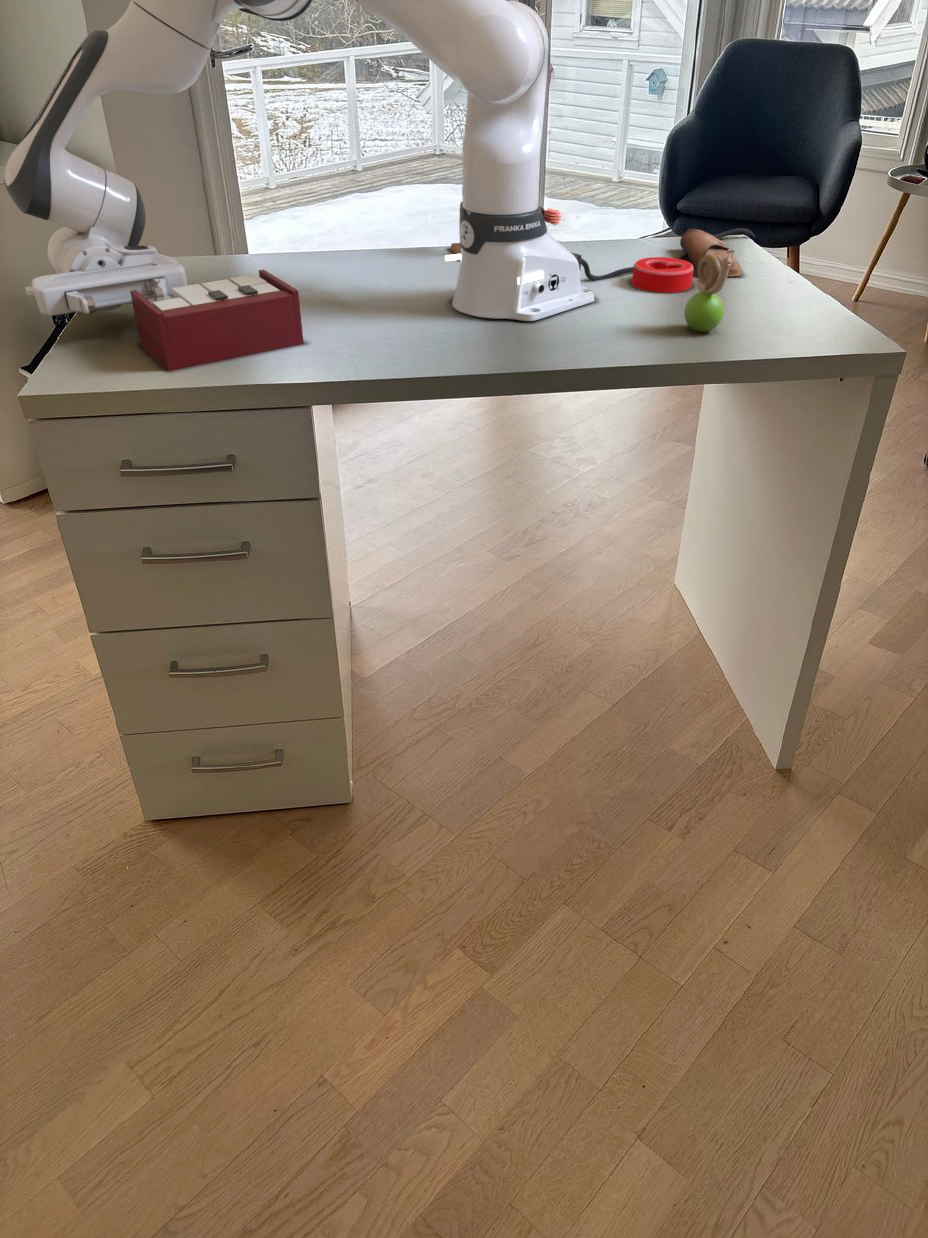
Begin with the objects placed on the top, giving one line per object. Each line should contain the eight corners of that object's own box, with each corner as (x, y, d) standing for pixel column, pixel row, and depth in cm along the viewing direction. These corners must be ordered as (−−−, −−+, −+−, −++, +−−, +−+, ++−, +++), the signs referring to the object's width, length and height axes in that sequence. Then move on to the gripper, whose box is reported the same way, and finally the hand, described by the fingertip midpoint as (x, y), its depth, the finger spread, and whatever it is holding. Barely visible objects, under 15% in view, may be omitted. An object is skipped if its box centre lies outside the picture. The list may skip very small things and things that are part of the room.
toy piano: (270, 320, 138) (263, 269, 133) (303, 344, 129) (298, 290, 125) (141, 344, 129) (129, 290, 125) (168, 371, 121) (157, 314, 117)
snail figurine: (702, 341, 130) (716, 251, 123) (674, 327, 135) (685, 241, 128) (733, 335, 132) (748, 247, 125) (703, 322, 137) (716, 236, 130)
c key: (256, 283, 134) (254, 273, 133) (268, 291, 131) (267, 281, 130) (231, 287, 132) (229, 277, 131) (242, 295, 129) (241, 285, 128)
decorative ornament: (631, 291, 150) (633, 270, 148) (632, 274, 157) (634, 255, 156) (692, 294, 148) (694, 273, 146) (690, 277, 156) (693, 257, 154)
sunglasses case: (747, 273, 156) (732, 237, 152) (707, 295, 158) (692, 260, 154) (725, 246, 170) (711, 213, 167) (689, 266, 172) (674, 234, 169)
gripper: (15, 264, 126) (38, 289, 117) (164, 243, 135) (196, 265, 126) (28, 310, 130) (51, 338, 120) (172, 288, 139) (204, 312, 129)
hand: (126, 301), depth 123 cm, fingers open, 8 cm apart
